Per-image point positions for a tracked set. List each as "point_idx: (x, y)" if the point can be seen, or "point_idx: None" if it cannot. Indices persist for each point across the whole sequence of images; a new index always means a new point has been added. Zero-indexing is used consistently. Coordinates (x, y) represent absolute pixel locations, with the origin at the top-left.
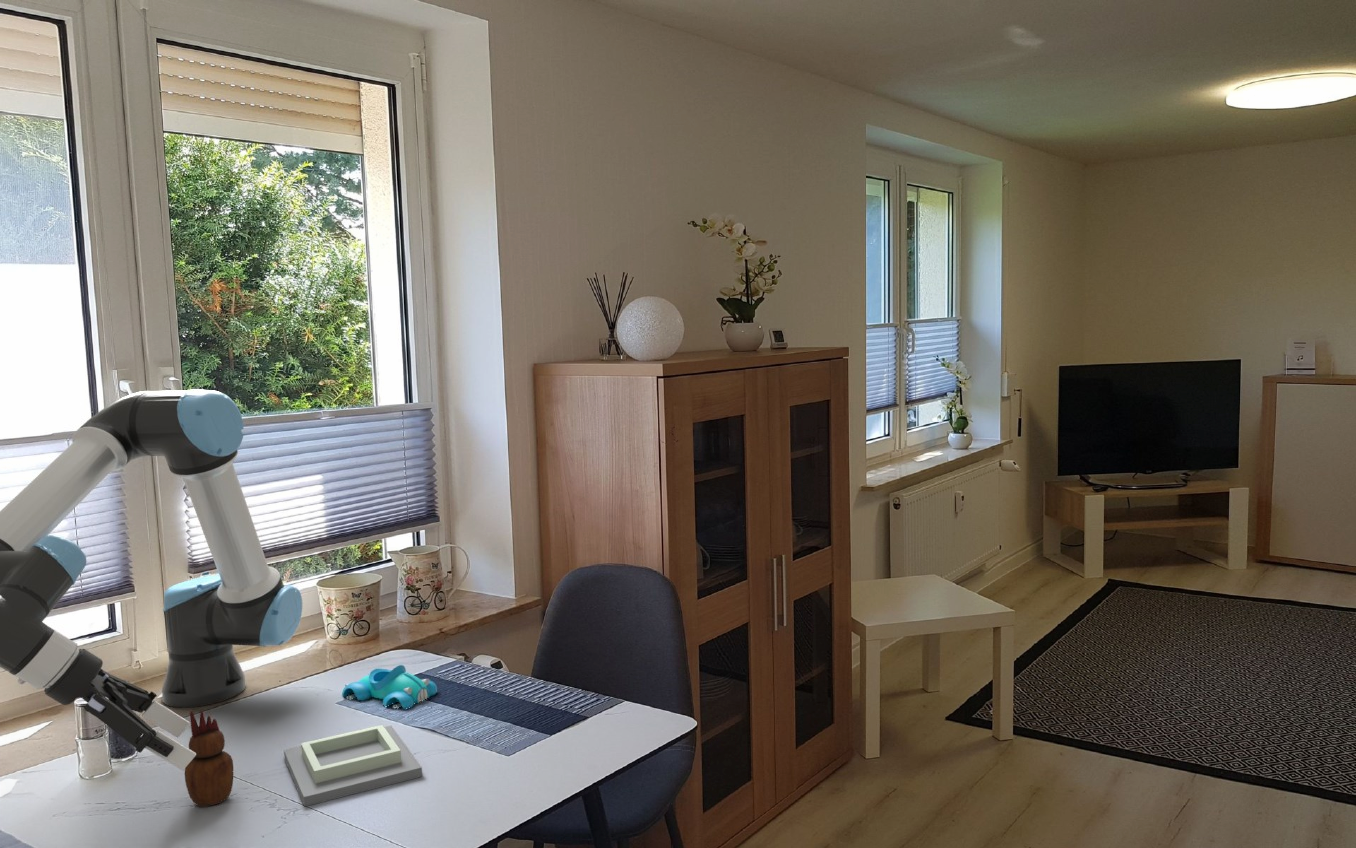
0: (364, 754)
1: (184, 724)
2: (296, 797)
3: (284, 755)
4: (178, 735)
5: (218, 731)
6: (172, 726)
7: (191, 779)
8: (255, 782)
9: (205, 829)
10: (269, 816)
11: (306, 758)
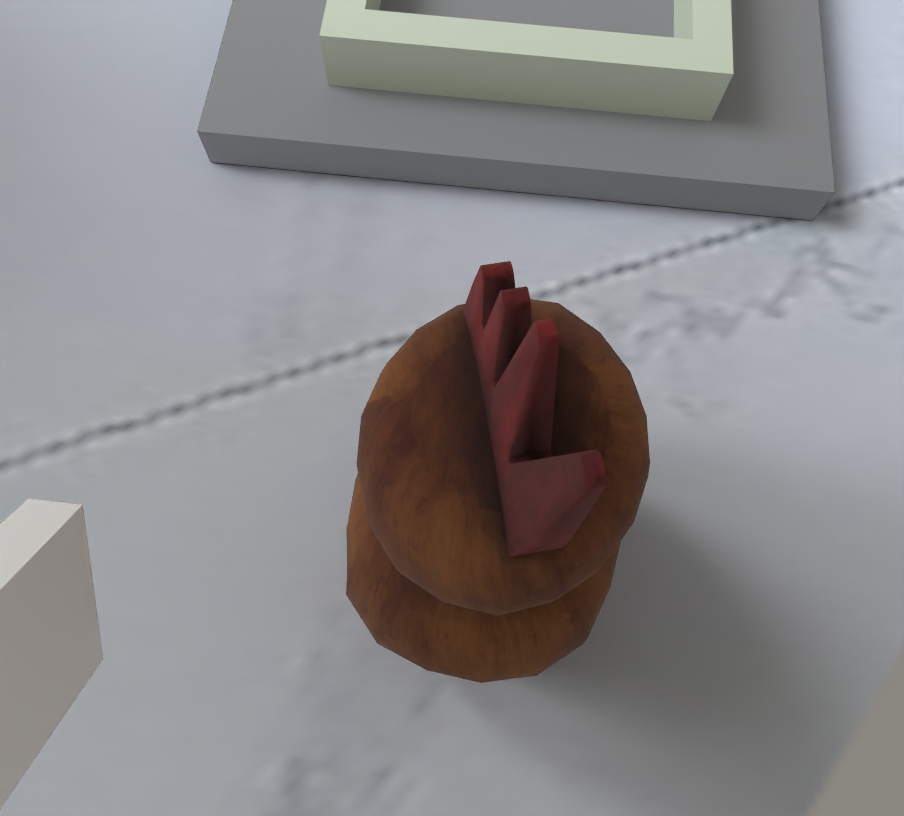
0: None
1: (62, 562)
2: (690, 223)
3: (216, 148)
4: (92, 647)
5: (541, 314)
6: (18, 700)
7: (572, 649)
8: (390, 326)
9: (807, 650)
10: (827, 360)
11: (484, 69)
